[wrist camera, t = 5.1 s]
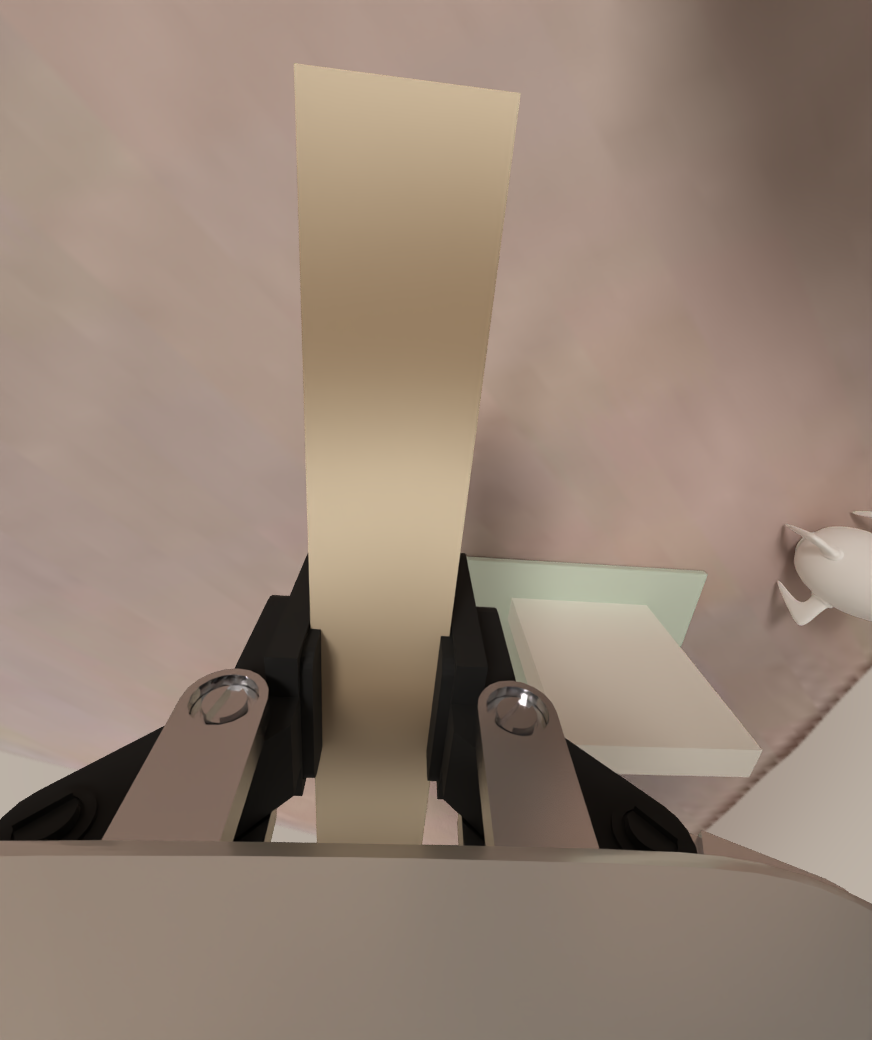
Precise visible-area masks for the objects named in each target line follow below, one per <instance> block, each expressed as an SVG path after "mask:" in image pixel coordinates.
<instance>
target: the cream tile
mask: <svg viewBox="0 0 872 1040" xmlns="http://www.w3.org/2000/svg"><path fill="white" fill-rule="evenodd" d="M508 623H509V626H510V629H511V632H512V636H513V639H514V642H515V645H516V648H517V652H518V655H519V658H520V661H521V664H522V668H523V671H524V674H525V677H526V680H527V684H528V685H530V686H532V687H535V688H536V689H538V690H539V691H541V692H542V693H543V694H545V695H546V696H547V698H548V699H549V700H550V701H551V702H552V703H553V705H554V707H555V709H556V711H557V714H558V717H559V721H560V724H561V727H562V730H563V734H564V737H565V738H566V739H568V740H569V741H571V742H572V743H573V744H575V745H576V746H578V747H579V748H581V749H582V750H584V751H585V752H586V753H588V754H589V755H591V756H592V757H594V758H595V759H596V760H598V761H599V762H601V763H602V764H604V765H605V766H607V767H608V768H609V769H611V770H612V771H614V772H615V773H617V774H634V775H675V776H717V777H750V775H751V773H752V771H753V769H754V767H755V765H756V763H757V761H758V759H759V757H760V755H761V753H762V751H763V750H762V749H761V748H760V746H759V745H758V744H757V743H756V741H755V740H754V739H753V738H752V736H751V735H750V734H749V733H748V731H747V730H746V729H745V728H744V726H743V725H742V724H741V723H740V721H739V720H738V719H737V718H736V716H735V715H734V714H733V713H732V711H731V710H730V709H729V708H728V706H727V705H726V704H725V703H724V701H723V700H722V699H721V698H720V696H719V695H718V694H717V693H716V691H715V690H714V689H713V688H712V686H711V685H710V684H709V683H708V681H707V680H706V679H705V678H704V676H703V675H702V674H701V673H700V671H699V670H698V669H697V668H696V666H695V665H694V664H693V663H692V661H691V660H690V659H689V658H688V656H687V655H686V654H685V653H684V651H683V650H682V649H681V648H680V646H679V645H678V644H677V643H676V641H675V640H674V639H673V638H672V636H671V635H670V634H669V633H668V631H667V630H666V629H665V628H664V626H663V625H662V624H661V623H660V621H659V620H658V619H657V618H656V616H655V615H654V614H653V613H652V611H651V610H650V609H649V608H648V606H647V605H636V604H618V603H599V602H581V601H562V600H544V599H525V598H511V604H510V609H509V614H508Z"/></svg>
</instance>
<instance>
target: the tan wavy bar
mask: <svg viewBox="0 0 872 1040" xmlns="http://www.w3.org/2000/svg"><path fill="white" fill-rule="evenodd" d="M294 84H295V117H296V151H297V185H298V219H299V253H300V287H301V320H302V354H303V388H304V422H305V456H306V490H307V523H308V557H309V591H310V625H311V629H321V673H322V752H321V757H320V762H319V766H318V771H317V775H316V777H315V794H316V828H317V843H355V844H410V845H422V840H423V833H424V825H425V817H426V810H427V802H428V795H429V787H430V781H428V780H427V760H426V749H427V741H428V734H429V726H430V718H431V710H432V702H433V694H434V686H435V678H436V670H437V662H438V654H439V646H440V638H441V636H449V635H450V627H451V619H452V612H453V604H454V597H455V589H456V581H457V574H458V566H459V559H460V551H461V543H462V536H463V528H464V520H465V513H466V505H467V498H468V490H469V482H470V475H471V467H472V460H473V452H474V444H475V437H476V429H477V421H478V414H479V406H480V399H481V391H482V383H483V376H484V368H485V361H486V353H487V345H488V338H489V330H490V322H491V315H492V307H493V300H494V292H495V284H496V277H497V269H498V262H499V254H500V246H501V239H502V231H503V223H504V216H505V208H506V201H507V193H508V185H509V178H510V170H511V163H512V155H513V147H514V140H515V132H516V124H517V117H518V109H519V102H520V94H521V93H515V92H508V91H500V90H493V89H485V88H478V87H470V86H462V85H455V84H447V83H440V82H432V81H425V80H417V79H409V78H402V77H394V76H387V75H379V74H372V73H364V72H356V71H349V70H341V69H334V68H326V67H318V66H311V65H303V64H296V63H294Z"/></svg>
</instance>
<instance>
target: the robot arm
mask: <svg viewBox="0 0 872 1040" xmlns="http://www.w3.org/2000/svg"><path fill="white" fill-rule="evenodd" d="M321 752H322V673H321V629H311V625H310V591H309V557H308V554H307V556H306V559H305V561H304V563H303V566H302V568H301V571H300V573H299V575H298V578H297V580H296V582H295V585H294V587H293V590H292V592H291V594H290V596H280V595H272V596H270V598H269V599H268V601H267V603H266V605H265V607H264V609H263V611H262V613H261V615H260V617H259V619H258V622H257V624H256V626H255V628H254V630H253V632H252V634H251V636H250V638H249V640H248V642H247V644H246V646H245V648H244V650H243V652H242V654H241V656H240V658H239V660H238V662H237V665H236V667H235V669H225V670H221V671H217V672H214V673H211V674H209V675H206V676H204V677H202V678H200V679H198V680H197V681H196V682H195V683H193V684H192V685H191V686H189V687H188V688H187V690H186V691H185V692H184V693H183V695H182V696H181V697H180V699H179V701H178V703H177V704H176V706H175V708H174V710H173V712H172V714H171V715H170V717H169V719H168V721H167V723H166V724H165V726H163V727H161V728H159V729H157V730H155V731H153V732H152V733H150V734H148V735H146V736H144V737H142V738H140V739H138V740H136V741H134V742H132V743H130V744H128V745H126V746H124V747H122V748H120V749H118V750H117V751H115V752H113V753H111V754H109V755H107V756H105V757H103V758H101V759H99V760H97V761H95V762H93V763H91V764H89V765H87V766H85V767H84V768H82V769H80V770H78V771H76V772H74V773H72V774H70V775H68V776H66V777H64V778H62V779H60V780H58V781H56V782H54V783H52V784H50V785H49V786H47V787H45V788H43V789H41V790H39V791H37V792H36V793H34V794H32V795H31V796H29V797H27V798H26V799H24V800H22V801H21V802H19V803H18V804H17V805H16V806H15V807H14V808H12V809H11V810H10V811H9V812H8V813H7V814H5V815H4V816H3V817H2V818H1V820H0V1040H872V904H871V903H869V902H867V901H865V900H863V899H861V898H859V897H857V896H855V895H853V894H851V893H849V892H848V891H846V890H845V889H844V888H841V887H840V886H838V885H836V884H834V883H832V882H830V881H828V880H827V879H825V878H822V877H819V876H817V875H814V874H812V873H809V872H807V871H804V870H802V869H799V868H797V867H794V866H792V865H789V864H786V863H784V862H781V861H779V860H776V859H774V858H771V857H769V856H766V855H763V854H761V853H758V852H756V851H753V850H751V849H748V848H745V847H743V846H741V845H738V844H736V843H733V842H730V841H728V840H725V839H723V838H720V837H718V836H715V835H713V834H710V833H708V832H705V831H703V830H701V831H700V833H699V835H698V836H696V835H693V834H691V833H689V832H688V830H687V829H686V828H685V827H684V825H683V824H682V823H681V822H680V820H679V819H678V818H677V817H676V816H675V815H674V814H672V813H671V812H670V811H669V810H668V809H667V808H665V807H664V806H663V805H661V804H660V803H658V802H657V801H656V800H654V799H653V798H651V797H650V796H648V795H647V794H646V793H644V792H643V791H641V790H640V789H638V788H637V787H635V786H634V785H633V784H631V783H630V782H628V781H627V780H625V779H624V778H622V777H621V776H620V775H618V774H617V773H615V772H614V771H612V770H611V769H609V768H608V767H607V766H605V765H604V764H602V763H601V762H599V761H598V760H596V759H595V758H594V757H592V756H591V755H589V754H588V753H586V752H585V751H584V750H582V749H581V748H579V747H578V746H576V745H575V744H573V743H572V742H571V741H569V740H568V739H566V738H565V737H564V734H563V730H562V727H561V724H560V721H559V717H558V714H557V711H556V709H555V707H554V705H553V703H552V702H551V701H550V700H549V699H548V698H547V696H546V695H545V694H543V693H542V692H541V691H539V690H538V689H536V688H535V687H532V686H530V685H528V684H525V683H522V682H516V679H515V675H514V671H513V667H512V663H511V660H510V656H509V652H508V648H507V644H506V641H505V637H504V633H503V629H502V625H501V621H500V618H499V614H498V611H497V609H496V608H495V607H478V606H476V603H475V598H474V593H473V588H472V583H471V578H470V573H469V568H468V562H467V557H466V554H464V553H460V559H459V566H458V574H457V581H456V589H455V597H454V604H453V612H452V619H451V627H450V635H449V636H441V638H440V646H439V654H438V662H437V670H436V678H435V686H434V694H433V702H432V710H431V718H430V726H429V734H428V741H427V749H426V760H427V780H428V781H437V799H444V800H445V801H446V802H447V803H448V804H449V805H450V806H451V807H452V808H453V809H454V810H455V811H457V812H458V821H457V825H458V843H459V845H410V844H355V843H293V842H291V843H289V842H287V843H286V842H271V838H272V834H273V830H274V826H275V822H276V815H277V808H278V807H279V806H280V805H282V804H283V803H284V802H286V801H287V800H288V799H290V798H291V797H293V796H302V795H303V790H304V786H305V782H306V778H315V777H316V775H317V771H318V766H319V762H320V757H321Z"/></svg>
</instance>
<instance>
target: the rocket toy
mask: <svg viewBox="0 0 872 1040" xmlns="http://www.w3.org/2000/svg"><path fill="white" fill-rule="evenodd" d="M852 513H853V514H856V515H860V516H864V517H869V518H872V511H854V512H852ZM785 525H786V526H787V527H788V528H789V529H791V530H792V531H794V532H796V533H797V534H799V535H801V536H802V537H803V538H802V539H801V540H800V541H799V542H798V544H797V546H796V549H795V552H796V553H795V556H794V565H795V568H796V571H797V573H798V575H799V577H800V578H801V580H802V581H803V583H804V584H805V585H806V586H807V587H808V588H809V589H810V590H811V591H812V592H811V594H812V596H811V597H810V598H809V599H808V600H807V601H805V602H800V601H798V600H796V599H795V598H794V597H793V596H792V595H791V594H790V593H789V591H788V590H787V589H786V588H785V587H784V585H783V584H782V583H781V582H780V581H779V580H778V581H777V583H778V587H779V589H780V592H781V594H782V597H783V599H784V601H785V603H786V606H787V608H788V610H789V612H790V614H791V616H792V618H793V619H794V621H795V622H796V623H797V624H798V625H800V626H802V625H805V624H807V623H809V622H810V621H811V620H812V619H814V618H815V617H816V616H817V615H818V614H820V613H821V612H822V611H823V610H825V609H827V608H833V607H834V608H836V609H838V610H840V611H842V612H845V613H847V614H850V615H852V616H855V617H858V618H861V619H864V620H868V621H872V533H871V532H868V531H865V530H861V529H857V528H851V527H844V526H833V527H826V528H823V529H820V530H818V531H816V532H808V531H806V530H803V529H801V528H798V527H795V526H792V525H789V524H785Z"/></svg>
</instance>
